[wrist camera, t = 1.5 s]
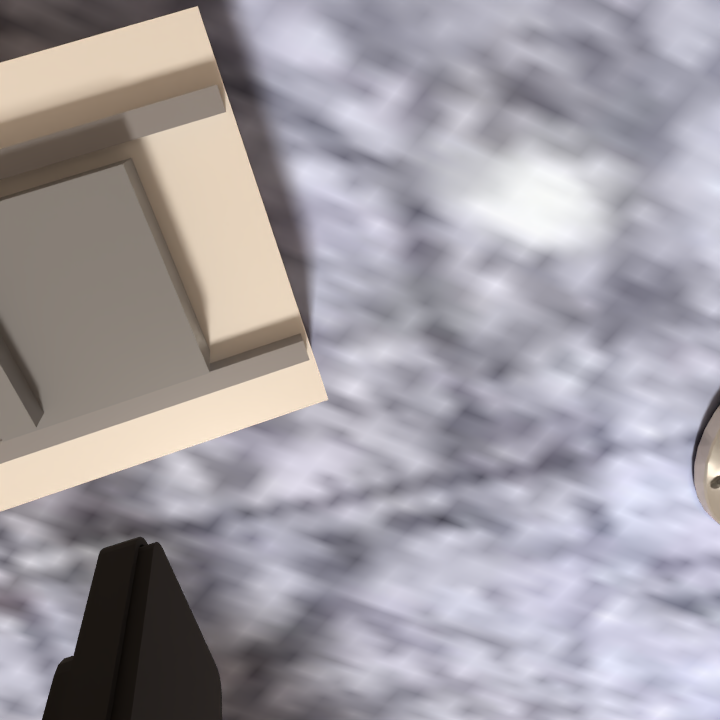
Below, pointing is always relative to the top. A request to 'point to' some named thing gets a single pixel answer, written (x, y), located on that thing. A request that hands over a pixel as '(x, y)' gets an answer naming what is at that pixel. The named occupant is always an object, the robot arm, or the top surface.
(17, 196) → the shutter
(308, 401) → the socket
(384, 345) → the top surface
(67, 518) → the top surface
